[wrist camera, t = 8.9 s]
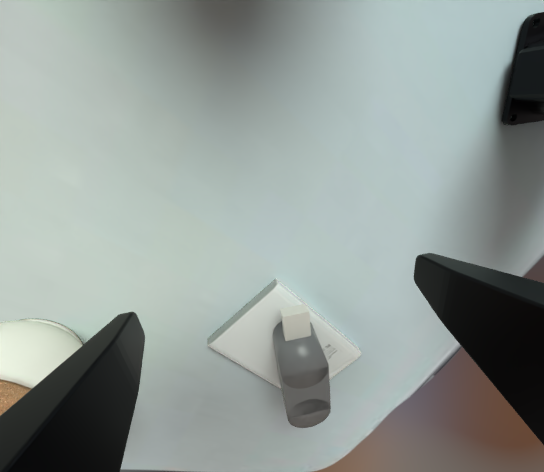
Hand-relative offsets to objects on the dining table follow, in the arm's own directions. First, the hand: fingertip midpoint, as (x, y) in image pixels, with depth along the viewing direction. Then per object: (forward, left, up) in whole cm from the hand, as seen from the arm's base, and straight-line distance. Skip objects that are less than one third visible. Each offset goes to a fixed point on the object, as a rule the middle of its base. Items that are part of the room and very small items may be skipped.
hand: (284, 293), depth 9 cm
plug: (-2, +15, -11) cm, 19 cm away
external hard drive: (-2, +15, -13) cm, 20 cm away
